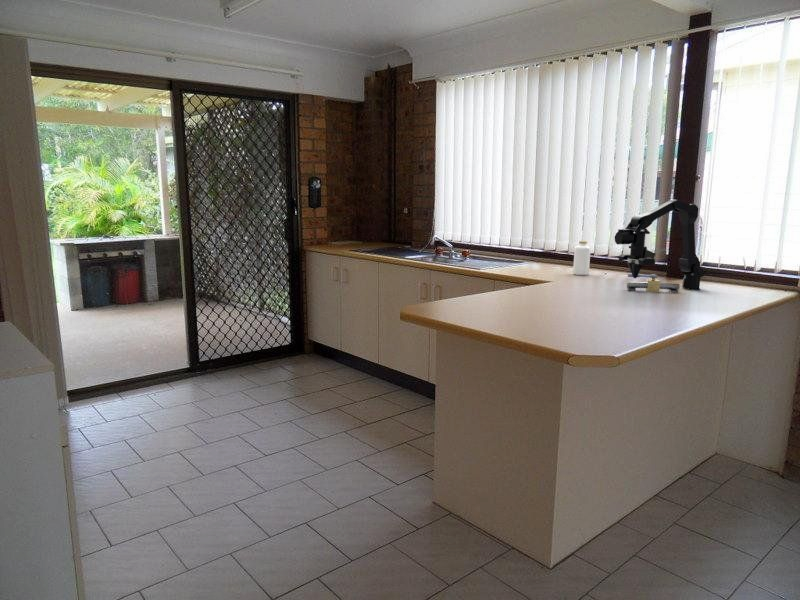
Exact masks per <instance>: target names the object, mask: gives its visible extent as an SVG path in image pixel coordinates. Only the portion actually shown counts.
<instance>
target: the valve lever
mask: <svg viewBox="0 0 800 600" xmlns="http://www.w3.org/2000/svg"><path fill="white" fill-rule="evenodd" d="M627 277H628V278H633V275H632V273H627ZM637 278H649V279H652V278H655V279H657V278H658V274H653V273H651V274H640V273H639V274H638V276H637Z"/></svg>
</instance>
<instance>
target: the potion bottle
mask: <svg viewBox="0 0 800 600" xmlns="http://www.w3.org/2000/svg"><path fill="white" fill-rule="evenodd" d="M591 250H592V248H591V247H590V246H589V245H588V241H586V240H580V241H579V242H578V245H576V246H575V247H574V253H573V265H572V268H573V269H572V272H573V275H576V276H587V275H588V276H589V275H590V266H591V265H590V261H591Z"/></svg>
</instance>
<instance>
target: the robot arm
mask: <svg viewBox="0 0 800 600" xmlns="http://www.w3.org/2000/svg"><path fill="white" fill-rule="evenodd" d="M672 211H673V212H675V213H677V216H678V219H679V221H680V223H681V224H682V250H683V253H682V254H683V255H682V256H681V257H680V258H678V267H679V269H680V271H681V275H684V277H683V278H682V283H681V287H682V288H683V289H684V290H692V291H693V290H696V291H700V290H701V288H700V286H701V285H700V284H701V278H702V277H704V276H705V271H704V269H703V268H702V267H701V263H700V259H699V257H698V255H697V254H696V235H695V234H696V233H695V231H696V230H695V222H696V221H697V218H699V217H698V216H699V207H698V206H697V205H696V204H695V203H686V202H683V201H681V200H678V199H668V200H667V201H666V202H663V204H660V205H659V206H656V207H655V208H653V209H651V210H650V211H648V212H645V213H644V212H643V213H640V214H637V215H633V216H632V217H631V218H630V221H629V222H628V224H627V225H626V227H625V228H624V229H623V228H618V230H617V232H616V233H615V235H614V242H615V244H616V245H628V249H630V251H629V253H622V254H620V255H619V256H618V261H622V262H623V261H627V262H626V263H625V264H627V266H628V268H629V271H630V274H632V275H633V277H632V278H633V279H637V278H638V277H637V276H638V274H640V271H641V269H642V268H643V267H644V266H654V265H656V259H655V257H656V255H657V253H655V252H653V251H651V250H648V248H647V246H645V243H646V235H650V234H651V232H650V231H649V230H648V229H647V228H649V227H650V226H651V225H652V224H653V222H654V221H656V220H658V219H660V218H661V217H664V216H665V215H667V214H668V213H670V212H672Z"/></svg>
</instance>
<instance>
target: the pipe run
mask: <svg viewBox="0 0 800 600" xmlns="http://www.w3.org/2000/svg"><path fill="white" fill-rule="evenodd" d="M626 288H627V291H628V292H636V291H637V289H645V291H646V292H647V293H660V290H668V293H670V292H671V293H670V294H679V291H680V283H674V282H673V283H668V282H661V280H659V279H657V278H649V279H648V278H646V281H627V282H626Z"/></svg>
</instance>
